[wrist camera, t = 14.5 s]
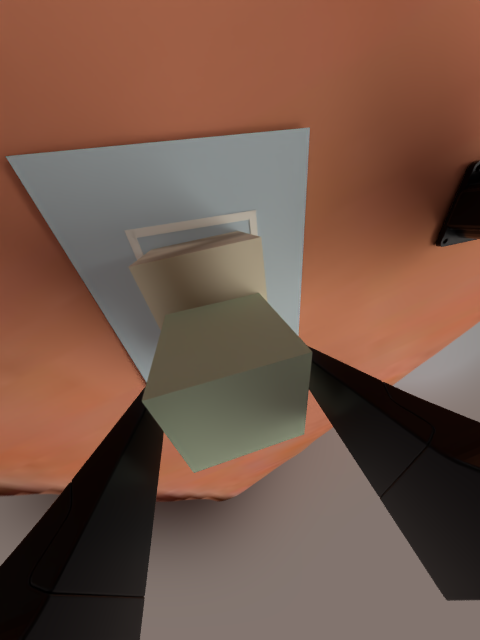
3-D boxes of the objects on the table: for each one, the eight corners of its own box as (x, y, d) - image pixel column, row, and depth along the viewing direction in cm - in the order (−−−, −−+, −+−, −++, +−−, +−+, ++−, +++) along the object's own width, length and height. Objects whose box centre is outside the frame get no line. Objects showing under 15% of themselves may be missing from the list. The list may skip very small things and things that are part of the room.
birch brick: (237, 230, 12) (261, 236, 8) (255, 340, 18) (275, 378, 13) (151, 249, 12) (128, 266, 7) (196, 357, 17) (197, 403, 13)
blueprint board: (304, 131, 11) (310, 126, 10) (294, 360, 21) (297, 365, 21) (16, 159, 9) (3, 155, 8) (160, 398, 19) (159, 404, 19)
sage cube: (259, 292, 10) (312, 351, 5) (265, 359, 12) (304, 434, 8) (165, 314, 9) (141, 401, 5) (193, 379, 11) (193, 473, 7)
